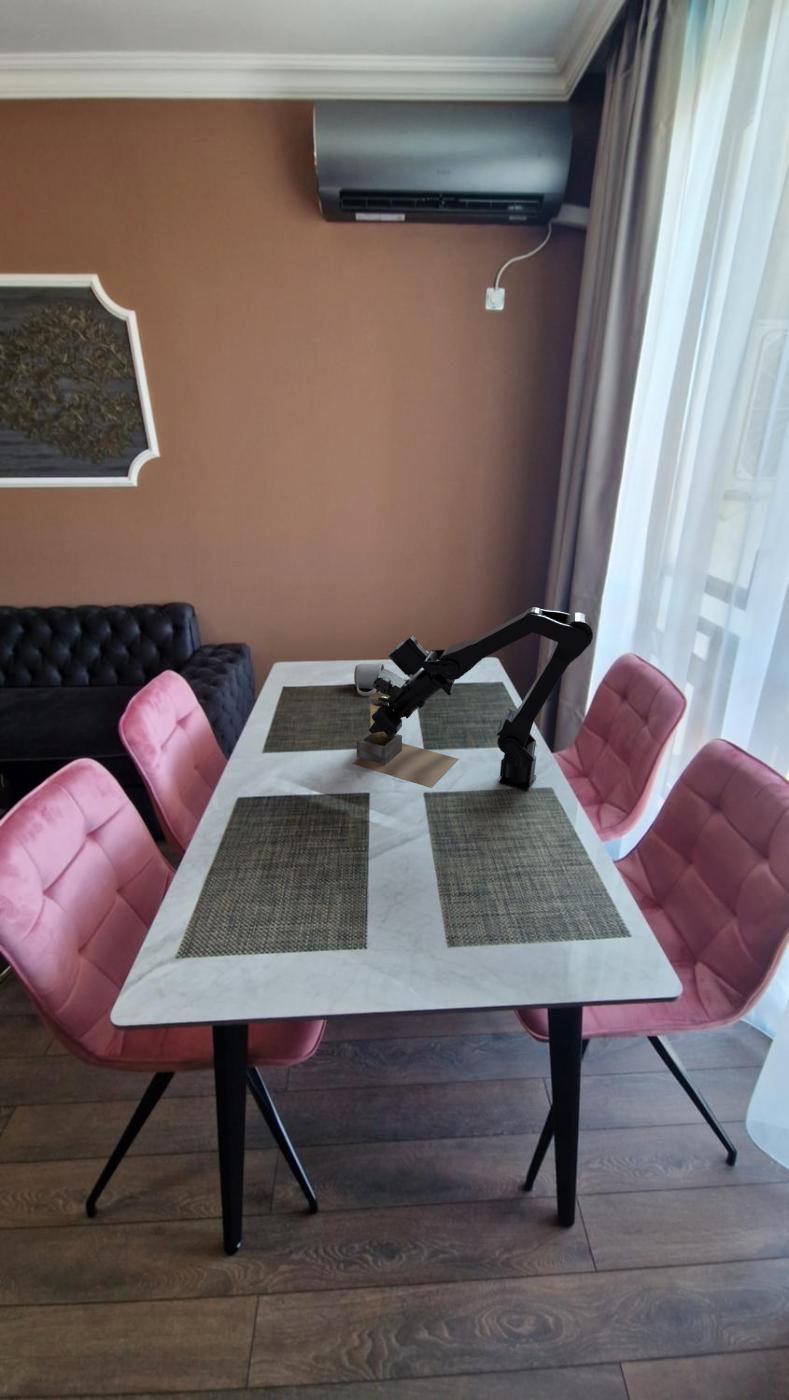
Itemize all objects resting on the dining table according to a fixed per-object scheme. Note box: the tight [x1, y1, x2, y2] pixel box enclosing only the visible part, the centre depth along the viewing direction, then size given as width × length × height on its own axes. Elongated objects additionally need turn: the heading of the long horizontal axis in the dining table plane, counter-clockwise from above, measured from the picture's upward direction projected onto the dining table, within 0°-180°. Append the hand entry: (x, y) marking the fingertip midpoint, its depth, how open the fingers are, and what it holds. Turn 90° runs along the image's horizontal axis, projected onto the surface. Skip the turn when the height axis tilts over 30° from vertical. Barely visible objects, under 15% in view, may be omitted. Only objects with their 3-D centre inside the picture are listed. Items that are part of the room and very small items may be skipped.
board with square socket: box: [351, 730, 460, 789], centre depth 137 cm, size 21×14×6 cm
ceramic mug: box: [353, 662, 385, 697], centre depth 177 cm, size 11×8×8 cm
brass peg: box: [368, 691, 390, 746], centre depth 137 cm, size 5×5×14 cm
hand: (373, 727), depth 138 cm, fingers closed on brass peg, 4 cm apart
